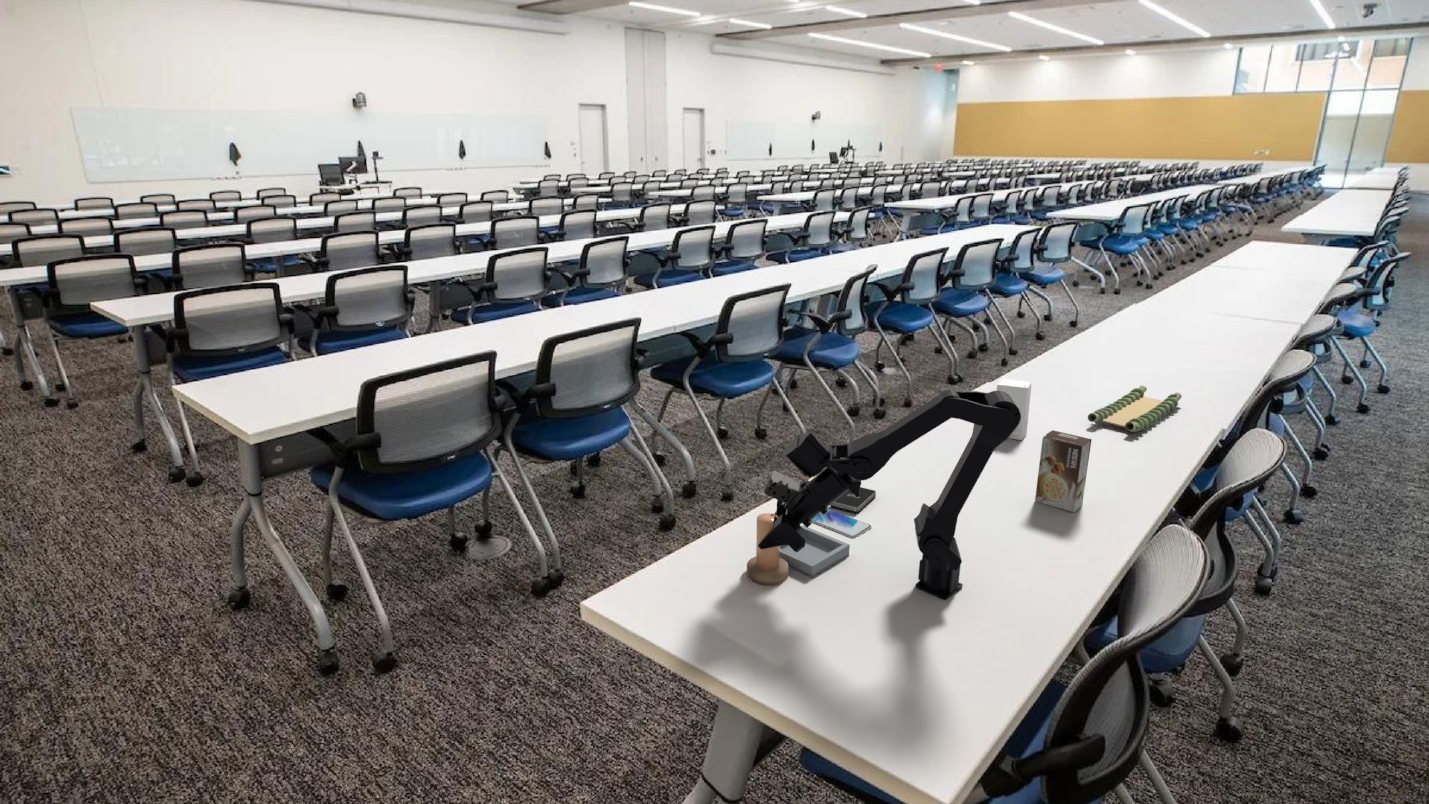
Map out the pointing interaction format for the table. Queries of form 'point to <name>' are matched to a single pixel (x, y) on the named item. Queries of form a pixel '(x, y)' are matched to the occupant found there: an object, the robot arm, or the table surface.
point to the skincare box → (1018, 403)
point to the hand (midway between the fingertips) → (760, 541)
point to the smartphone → (841, 524)
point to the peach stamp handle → (768, 556)
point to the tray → (815, 553)
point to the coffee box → (1062, 470)
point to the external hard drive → (854, 501)
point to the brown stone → (767, 573)
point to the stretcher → (1135, 410)
